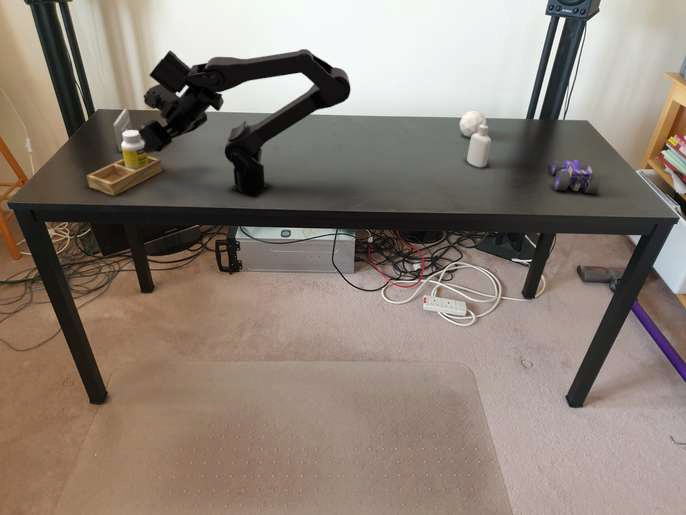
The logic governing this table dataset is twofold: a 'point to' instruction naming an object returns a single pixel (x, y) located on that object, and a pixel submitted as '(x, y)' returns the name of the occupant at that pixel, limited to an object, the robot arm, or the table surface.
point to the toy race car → (574, 176)
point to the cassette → (122, 127)
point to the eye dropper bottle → (479, 147)
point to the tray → (122, 176)
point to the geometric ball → (471, 123)
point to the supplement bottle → (133, 150)
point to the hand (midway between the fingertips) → (157, 144)
